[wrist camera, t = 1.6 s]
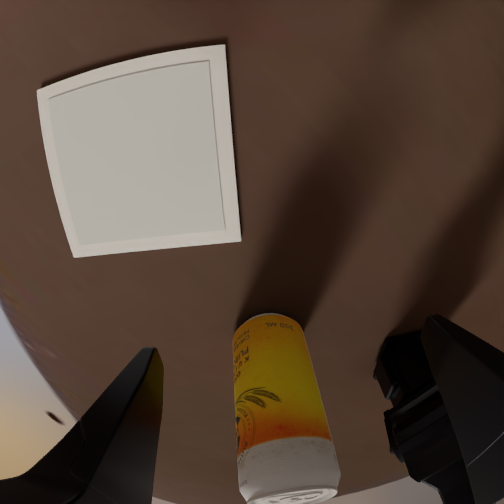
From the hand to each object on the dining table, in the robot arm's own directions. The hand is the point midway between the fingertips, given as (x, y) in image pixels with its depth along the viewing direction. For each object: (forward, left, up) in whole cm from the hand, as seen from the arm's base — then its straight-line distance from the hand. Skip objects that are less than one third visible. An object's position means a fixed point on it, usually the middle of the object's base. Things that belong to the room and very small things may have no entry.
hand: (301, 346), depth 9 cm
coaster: (+8, -4, -13) cm, 16 cm away
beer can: (0, +12, -13) cm, 18 cm away
